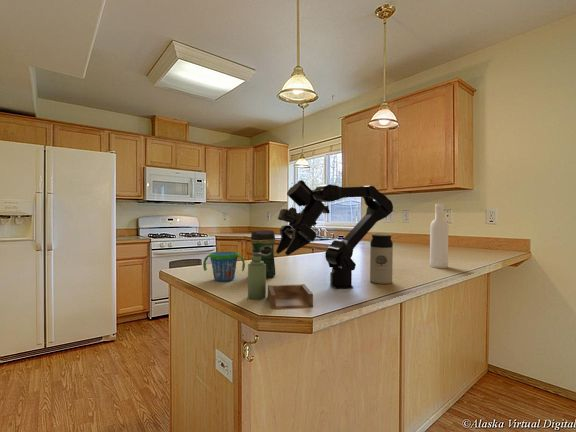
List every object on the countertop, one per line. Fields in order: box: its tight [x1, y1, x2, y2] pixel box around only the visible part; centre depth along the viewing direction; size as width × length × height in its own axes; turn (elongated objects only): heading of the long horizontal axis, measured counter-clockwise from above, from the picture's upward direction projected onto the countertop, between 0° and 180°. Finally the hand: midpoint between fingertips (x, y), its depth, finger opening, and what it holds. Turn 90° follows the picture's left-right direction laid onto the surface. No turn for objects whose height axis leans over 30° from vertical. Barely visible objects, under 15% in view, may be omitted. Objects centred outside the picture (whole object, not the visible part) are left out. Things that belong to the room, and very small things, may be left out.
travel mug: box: [369, 232, 394, 285], centre depth 117 cm, size 8×8×18 cm
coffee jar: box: [250, 229, 276, 279], centre depth 125 cm, size 10×8×19 cm
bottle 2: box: [429, 203, 449, 269], centre depth 150 cm, size 8×8×30 cm
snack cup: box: [202, 251, 246, 282], centre depth 119 cm, size 16×10×10 cm
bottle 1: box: [247, 252, 267, 301], centre depth 95 cm, size 5×5×13 cm
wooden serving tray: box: [267, 283, 314, 309], centre depth 90 cm, size 11×11×4 cm
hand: (281, 253), depth 99 cm, fingers open, 9 cm apart
